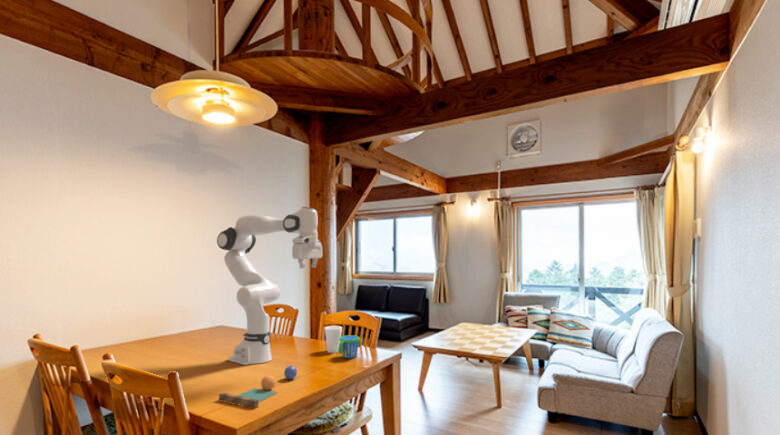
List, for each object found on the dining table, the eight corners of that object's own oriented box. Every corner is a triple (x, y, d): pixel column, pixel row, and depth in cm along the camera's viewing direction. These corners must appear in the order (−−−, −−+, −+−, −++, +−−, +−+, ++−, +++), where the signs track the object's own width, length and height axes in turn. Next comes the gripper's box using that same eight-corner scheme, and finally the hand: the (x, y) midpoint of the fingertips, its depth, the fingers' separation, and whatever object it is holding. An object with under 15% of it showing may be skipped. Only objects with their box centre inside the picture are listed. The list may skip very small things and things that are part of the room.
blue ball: (281, 380, 171) (281, 366, 171) (289, 376, 176) (289, 363, 176) (291, 381, 168) (291, 368, 169) (299, 377, 174) (299, 365, 174)
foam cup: (322, 353, 214) (322, 329, 215) (327, 348, 223) (328, 325, 224) (339, 353, 213) (339, 329, 214) (343, 349, 222) (344, 326, 223)
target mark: (231, 398, 150) (231, 398, 150) (254, 388, 161) (254, 387, 161) (255, 403, 145) (255, 403, 145) (277, 393, 156) (277, 392, 156)
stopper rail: (218, 400, 148) (219, 393, 148) (222, 399, 149) (222, 392, 150) (255, 408, 141) (255, 401, 141) (258, 407, 142) (258, 400, 142)
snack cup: (345, 362, 198) (345, 341, 198) (331, 358, 204) (331, 338, 205) (366, 355, 209) (367, 336, 210) (353, 352, 216) (353, 333, 217)
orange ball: (258, 390, 158) (258, 376, 159) (267, 386, 163) (268, 372, 164) (268, 392, 156) (269, 378, 156) (278, 388, 161) (278, 374, 161)
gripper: (315, 240, 203) (315, 266, 202) (290, 239, 185) (289, 268, 184) (325, 240, 201) (325, 267, 200) (301, 239, 182) (300, 269, 181)
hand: (308, 267), depth 192 cm, fingers open, 8 cm apart
